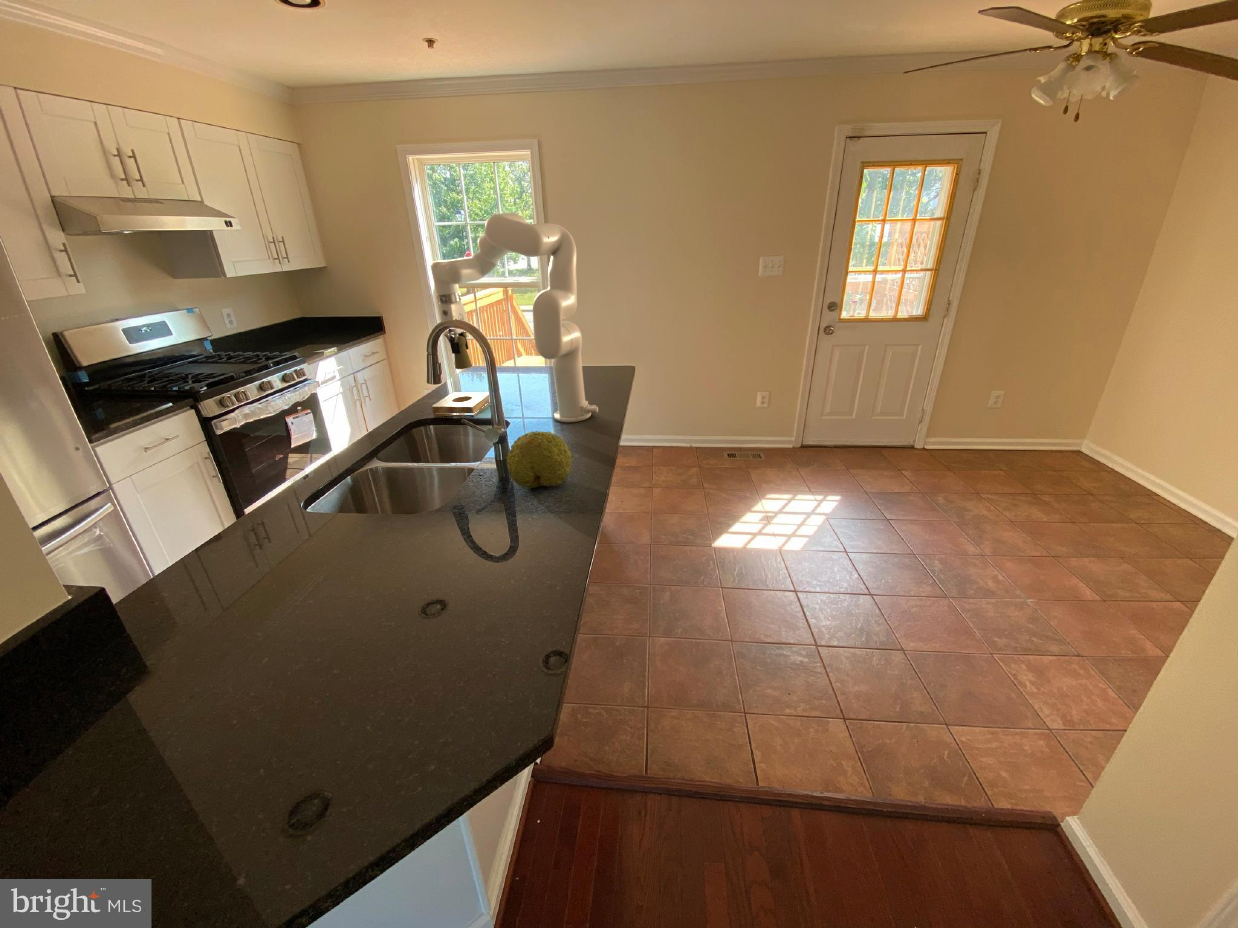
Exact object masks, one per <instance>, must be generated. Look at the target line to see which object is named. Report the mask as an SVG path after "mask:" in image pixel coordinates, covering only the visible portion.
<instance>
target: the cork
mask: <svg viewBox="0 0 1238 928" xmlns="http://www.w3.org/2000/svg"><path fill="white" fill-rule="evenodd" d="M457 342H459V346H460V350H461V353H460V354H453V356H454V357H453V358H454V369H456V370H467V369H469V368H472V367H473V364H472V361H471V358H470V355H469V352H468V350H467V349H466V346H465V344H466V339H465V338H464V337H463V336H458V335H457Z"/></svg>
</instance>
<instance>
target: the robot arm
mask: <svg viewBox="0 0 1238 928" xmlns="http://www.w3.org/2000/svg"><path fill="white" fill-rule="evenodd" d="M477 247H478V249H479V250H478V251H477V252H475V253H474V254H473V255H472V256H469V257H461V258H454V259H444V260H442V259H441V260H434V261H432V262H431V263H430V271H431V275H432V279H433V283H434V287H435V292H436V297H437V301H438V305H439V312H440V320H441V323H442V322H444V321H448V320H455V319H457V320H464V321H467V322H468V323H469V321H468V317H467V313H466V311H465V306H464V305H463V301H462V298H461V293H460V288H459V285H460V284H461V285H462V284H466V283H471V282H476V281H479V280H481V279H483V278H484V277H486V276H487V275H489V274H490V273H491V272H492V271H493V270H495V269H496V267H497V265H498V263H499V261H500V260H501V259H502V258H504V257H505V256H506V255H507V254H509V253H510V252H512V253H516V254H519V255H521V256H525V257H531V258H535V257H540V256H547V255H548V256H550V261H549V265H548V269H547V270H548V271H547V275H548V277H547V278H548V286H547V287H548V288H547V289H544V290H542V291H540V292H539V293H538V294H537V295H536V296H535V298H534V300H533V304H532V323H533V325H532V326H533V338H534V339H533V340H534V346H535V348H536V351H537V353H538V354H539V355H540V356H541V358H544V359H546V360H552V370H553V371H552V372H553V379H554V386H555V394H556V403H557V411H556V412H555V413H554V414H553V415H554V419H555V420H556V421H557V422H561V423H577V422H581V421H584V420H587V419H589V418H590V417H591V415H592V413H593V414H594V413H595V414H596V413H597V414H598V413H599V407H598V406H597V404H589V400H586V394H585V393H586V392H585V383H584V373H583V362H582V360H583V359H582V349H583V348H582V346H583V337H582V332H581V330H580V327H578V326H577V324H576V323H574V322H571V321H569V320H566V319H568V318H570V317H572V316H573V315H575V313H576V312H577V309H578V284H577V283H578V279H577V255H578V254H577V246H576V242H575V239H574V238H573V236H572V234H571V233H570V232H569V231H568V230H567V229H566V228H565V227H563V226H562V225H559V224H557V223H553V222H543V223H528V222H527V220H526V219H525V218H524V217H523V216H521V215H520V214H518V213H514V212H508V213H507V212H506V213H494V214H492V215H490V216H489V217H488V218H487V220H486V221H485V224H484V233H483V234H481V235H480V236H479V237H478V239H477ZM564 320H565V321H564ZM443 335H444V337H445V338H446V339H447V341H448V343H449V346H450V351H451V354H452V355H454V354H460V353H461V350H460V346H459V342H457V336H463V337H464V338H465V339H466V344H465V346H466V349H467V351H468V350H469V344H468V335H467V332H464V331H462V330H460V329H449V330H448V331H446V332H445V333H443Z"/></svg>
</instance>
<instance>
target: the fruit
mask: <svg viewBox="0 0 1238 928" xmlns="http://www.w3.org/2000/svg"><path fill="white" fill-rule="evenodd" d="M507 453H508V454H507V455H506V462H505V463H506V465H507V470H508V471H507V472H508V473H509V475H510V479H512V481H513V482H514V483H515V484H516V485H518V486H520V487H521V488H526V489H533V488H538V487H543V486H545V487H547V488H550V487H557V486H559V485H560V484H561V483H563V482H565V480H566V479H567V477H568V476H569V474H570V470H571V467H572V466H571V465H572V462H573V456H572V451H570V447H569V446H568V444H567V442H566V440H565V439H563V438H562V437H560V436H558V435H557V434H556V433H553V432H551V431H543V430H542V431H540V430H539V431H538V430H536V431H529V432H528V433H524V434H522V435H521V436H519V437H517V439H516V440H515V441H513V444H511V445H510V449H509V450H508V452H507Z"/></svg>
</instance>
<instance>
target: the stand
mask: <svg viewBox="0 0 1238 928" xmlns="http://www.w3.org/2000/svg"><path fill="white" fill-rule="evenodd" d="M489 392H490V391H489ZM489 392H488V391H487V392H483V391H482V392H480V391H479V392H475V391H474V392H471V391H470V392H464V391H463V392H462V391H461V392H451V393H450V394H448V395H447V396H445V397H444V398H442V399H441V400H439V401H438V402H436V403H435V404H433V405H432V406H431V411H432V414H433V417H434V418H445V417H444V416H475V417H477V416H478V415H479V414H481V412H483V411H485V409H487V408H488V407H490V406H491V404H490V402H489ZM487 403H488V404H487ZM485 404H487V405H486V406H485ZM483 406H484V407H483ZM482 407H483V408H482ZM478 410H479V411H478ZM477 411H478V412H477ZM475 412H477V413H475ZM435 413H475V414H474V415H450V414H435ZM442 416H443V417H442Z"/></svg>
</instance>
